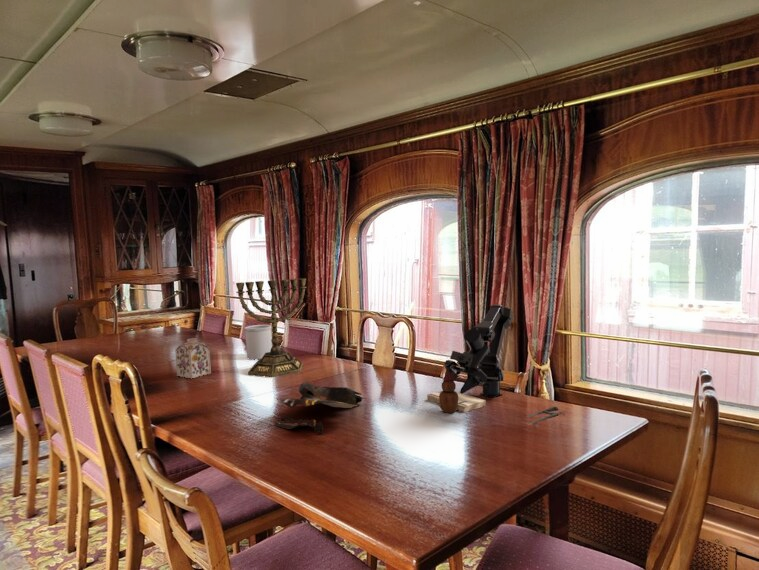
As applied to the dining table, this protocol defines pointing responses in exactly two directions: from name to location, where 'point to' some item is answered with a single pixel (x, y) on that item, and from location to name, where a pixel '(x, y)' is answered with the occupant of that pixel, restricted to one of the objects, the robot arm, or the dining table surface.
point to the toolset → (311, 397)
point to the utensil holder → (258, 340)
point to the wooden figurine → (448, 395)
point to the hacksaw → (546, 416)
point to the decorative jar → (193, 359)
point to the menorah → (273, 327)
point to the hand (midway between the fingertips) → (452, 390)
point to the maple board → (461, 401)
